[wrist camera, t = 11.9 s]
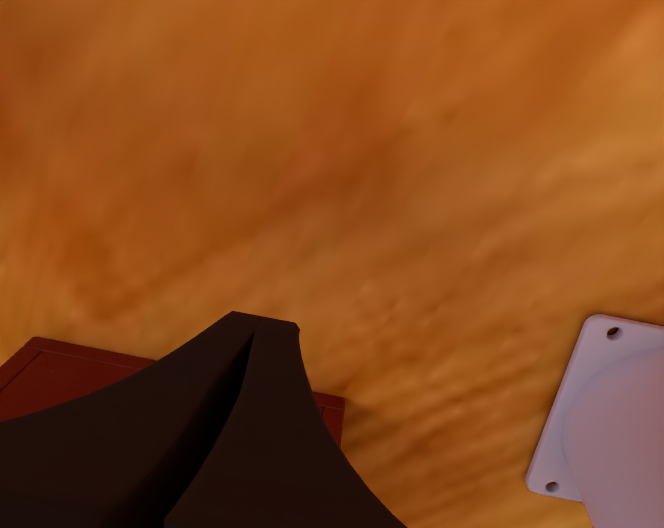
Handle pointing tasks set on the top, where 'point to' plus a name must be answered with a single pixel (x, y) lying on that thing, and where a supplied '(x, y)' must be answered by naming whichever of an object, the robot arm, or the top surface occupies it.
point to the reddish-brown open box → (88, 379)
